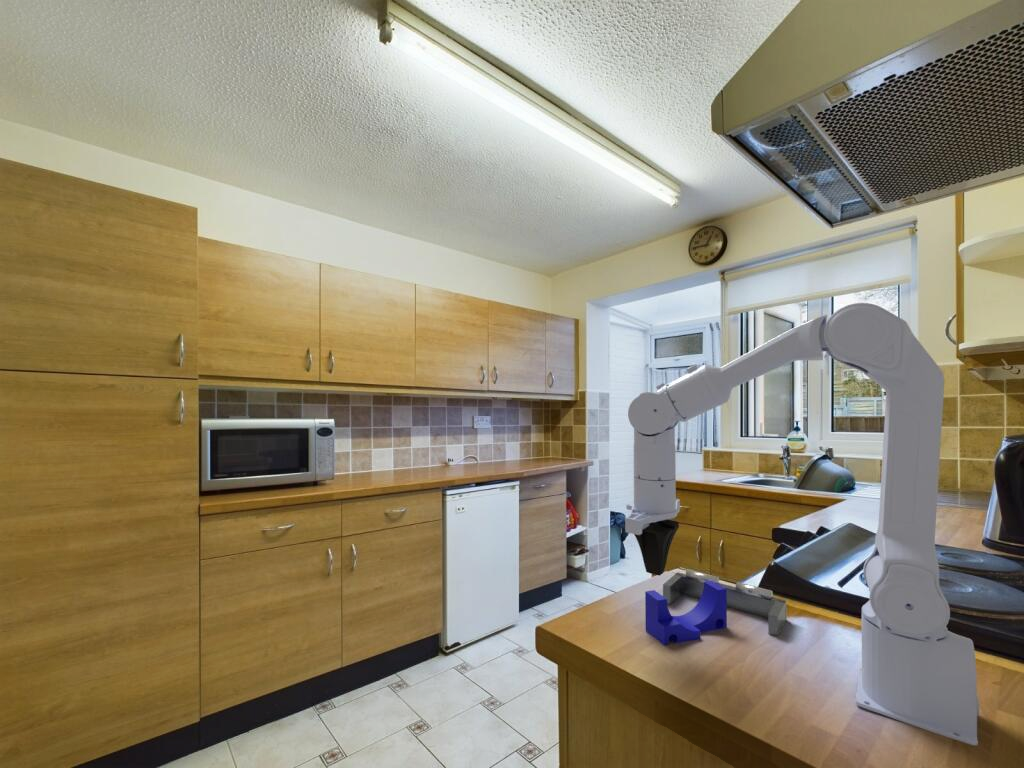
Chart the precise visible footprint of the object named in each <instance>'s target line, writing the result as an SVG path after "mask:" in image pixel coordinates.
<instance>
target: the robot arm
mask: <svg viewBox="0 0 1024 768" xmlns="http://www.w3.org/2000/svg"><path fill="white" fill-rule="evenodd" d="M827 317H828V314H823V315H821V316H818V317H815V318H813V319H811V320H808V321H806V322H804V323H801V324H800V325H797V326H795V327H793V328H791V329H789V330H787V331H785V332H782V333H781V334H780V335H777V336H775V337H774V338H771V339H770V340H768V341H766V342H765V343H762V344H761V345H759V346H757V347H755V348H754V349H752V350H750V351H749V352H746V353H744V354H742V355H741V356H738V357H737V358H735V359H733V360H732V361H730V362H728V363H726V364H724V365H723V366H721V367H719V366H714V365H711V364H703V365H701V366H698V365H696V364H693V365H691V366H689V367H687V368H686V372H687V373H686V374H683V375H682V376H680V377H677V378H676V379H674V380H672V381H670V382H668V383H666V384H665V383H664V382H661V383H659V384H657V385H656V386H655V387H656V392H653V391H645V392H641V393H640V394H639V395H638V396H637V397H635V398H634V399H633V400H632V401H631V403H630V405H629V406H628V411H627V417H628V421H629V423H630V425H631V427H632V428H633V502H629V503H627V504H626V509H627V510H628V511H630V512H629V515H628V516H627V517H625V518H624V519H625V520H624V522H625V525H624V526H625V528H624V529H625V530H624V531H625V533H627V534H632V535H634V537H635V539H636V541H637V543H638V546H639V549H640V553H641V557H642V560H643V565H644V568H645V572H646V573H648V574H652V575H656V576H661V575H663V574H664V572H665V569H666V566H667V565H666V564H667V560H668V556H669V551H670V547H671V544H672V542H673V540H674V537H675V535H676V533H677V531H678V530H679V529H680V523H679V522H678V521H677V520H674V519H675V518H676V517H677V516H678V513H680V512H681V510H680V509H681V508H680V507H681V499H680V498H679V499H678V498H676V497H677V495H676V494H677V493H676V490H677V489H676V488H677V487H676V482H677V481H676V476H677V475H676V471H677V470H676V466H677V465H676V464H677V463H676V443H675V440H676V439H675V434H676V433H675V429H676V427H677V426H678V424H679V423H680V422H682V423H685V422H687V421H689V420H691V419H693V418H696V417H698V416H700V415H703V414H704V413H707V412H708V411H711V410H713V409H715V408H717V407H720V406H722V405H725V404H726V403H728V401H729V399H730V396H731V392H732V390H733V389H734V388H736V387H738V386H740V385H742V384H745V383H747V382H750V381H752V380H755V379H757V378H758V377H761V376H764V375H765V374H768V373H770V372H772V371H774V370H777V369H779V368H782V367H783V366H786V365H789V364H791V363H794V362H796V361H797V362H798V361H823V359H824V354H823V352H826V353H827V354H828V355H829V357H830V358H831V359H833V360H834V361H837V362H839V363H840V364H843V365H846V366H848V367H850V368H853V369H856V370H858V371H860V372H862V373H863V374H864V375H865V376H866V377H867V378H869V379H870V380H871V381H872V382H873V383H875V384H876V385H878V386H879V387H880V388H881V389H883V390H884V392H885V405H884V406H885V407H884V426H883V441H882V442H883V443H882V457H881V458H882V459H881V474H880V475H881V476H880V477H881V478H880V493H879V494H880V495H879V509H878V510H879V512H878V527H877V529H876V533H875V537H874V538H875V539H874V540H875V541H874V548H873V551H872V552H871V554H870V555H869V556H868V558H866V560H865V562H864V564H863V569H862V570H863V571H862V572H863V577H864V580H865V583H866V584H867V588H868V592H869V600H867V602H866V603H865V604H863V605H862V607H861V668H859V672H858V678H857V685H856V686H857V687H856V696H855V704H856V705H857V706H859V707H860V708H862V709H866V710H869V711H871V712H874V713H877V714H880V715H883V716H886V717H888V718H891V719H894V720H897V721H900V722H902V723H904V724H905V723H906V724H908V725H911V726H913V727H917V728H920V729H923V730H926V731H928V732H931V733H933V734H936V735H941V736H942V737H943V736H944V737H947V738H950V739H952V740H955V741H959V742H962V743H965V744H968V745H971V746H978V744H979V741H978V740H979V739H978V717H979V716H980V704H979V703H980V702H979V697H978V695H977V694H978V691H977V690H978V688H977V687H978V686H977V683H978V681H977V679H978V678H977V664H976V652H975V645H974V641H973V640H972V639H971V638H969V637H966V636H963V635H960V634H957V633H954V632H952V631H949V630H948V626H947V625H948V623H949V621H950V617H951V610H950V605H949V603H948V600H947V598H946V597H945V595H944V593H943V592H942V590H941V587H940V567H939V565H940V564H939V562H938V554H937V550H936V544H935V542H936V525H937V523H936V522H937V512H938V511H937V509H938V494H939V493H938V492H939V475H940V460H941V444H942V442H941V441H942V430H943V429H942V427H943V412H944V411H943V410H944V397H945V396H944V394H945V375H944V372H943V371H942V369H941V368H940V366H939V365H938V364H937V362H936V361H935V360H934V359H933V357H932V356H931V355H930V354H929V352H928V351H927V349H926V348H925V347H924V346H923V345H922V344H921V342H920V341H919V340H918V338H917V337H916V336H915V334H914V333H913V332H912V330H911V328H910V326H909V324H908V322H907V321H906V320H904V319H903V318H901V317H899V316H898V315H896V314H895V313H893V312H891V311H889V310H887V309H886V308H883V307H882V306H879V305H877V304H873V303H868V302H856V303H851V304H848V305H845V306H842V307H841V308H839V309H838V310H836V311H835V312H834V313H832V314H831V316H830V317H828V318H827ZM827 319H828V320H827ZM672 519H673V520H672Z"/></svg>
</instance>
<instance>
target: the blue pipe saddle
mask: <svg viewBox="0 0 1024 768" xmlns="http://www.w3.org/2000/svg"><path fill="white" fill-rule="evenodd" d="M644 594H645V596H644V597H645V598H644V599H645V612H644V613H645V632H646V633H647V634H649V635H650V636H651V637H653V638H654V639H656V641H658V642H660V643H661V644H662V645H663V646H668V645H670V644H671V643H670V641H671V642H673V643H674V644H681V643H686V642H691V641H695V640H701V639H702V638H701V633H704V632H711V631H716V630H722V629H727V628H728V627H727V626H728V623H727V621H728V620H727V617H728V616H727V614H728V613H727V612H728V608H727V607H728V606H727V589H726V588H724V587H723V586H721V585H719V584H717V583H715V582H714V581H707V582H704V589H703V593H702V596H701V598H699V600H698V602H697V603H696V605H695V606H694V607H693V608H691V610H690V611H688V612H686V613H684V614H681V615H672V614H671V613H670V609H669V606H668V604H667V599H666V598H665V597H663V594H661V593H659V592H657V591H656V590H655V589H653V590H652V589H651V590H646V591H645V592H644ZM669 640H670V641H669Z"/></svg>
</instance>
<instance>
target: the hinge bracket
mask: <svg viewBox="0 0 1024 768" xmlns="http://www.w3.org/2000/svg"><path fill="white" fill-rule="evenodd" d="M707 581H714V582H715V583H717V584H719V585H721V586H723V587H724V588H726V589H727V607H728V608H731V609H734V610H738V611H742V612H746V613H748V614H749V613H750V614H752V615H756V616H760V617H764V618H766V619H767V620H768V623H767V625H768V632H767V634H768V635H770V636H773V637H774V636H775V637H779V635H780V633H781V632H782V630H783V627H784V626H785V624H786V621H787V599H783V598H779V597H776V596H773V595H774V593H773V590H771V589H766V588H763V587H759V586H755V585H751V584H747V583H743V582H739V581H737V582H736V584H735V586H733V585H728V584H725V583H720V578H719V576H715V575H711V574H707V573H704V572H698V571H695V570H691V569H686V570H685V573H682V572H676V573H675V574H673V576H671V577H670V578H669V579H668V580H666V581H665V582H664V583H663V584H662V596H663V597H665V598H666V599H667V605H670V606H671V605H672V604H673V603H674V602H675V601H676V599H678V598H679V597H680V596H681V595H686V596H689V597H693V598H696V599H700V598H701V596H702V593H703V589H704V582H707Z"/></svg>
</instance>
